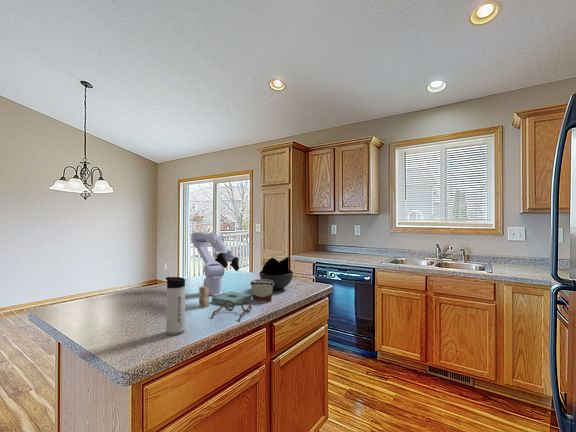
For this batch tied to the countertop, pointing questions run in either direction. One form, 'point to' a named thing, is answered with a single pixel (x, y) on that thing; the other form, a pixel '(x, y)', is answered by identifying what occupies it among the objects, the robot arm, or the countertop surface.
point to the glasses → (233, 308)
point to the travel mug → (175, 306)
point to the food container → (262, 290)
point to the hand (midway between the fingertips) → (232, 268)
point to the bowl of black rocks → (277, 272)
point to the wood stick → (204, 296)
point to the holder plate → (231, 298)
